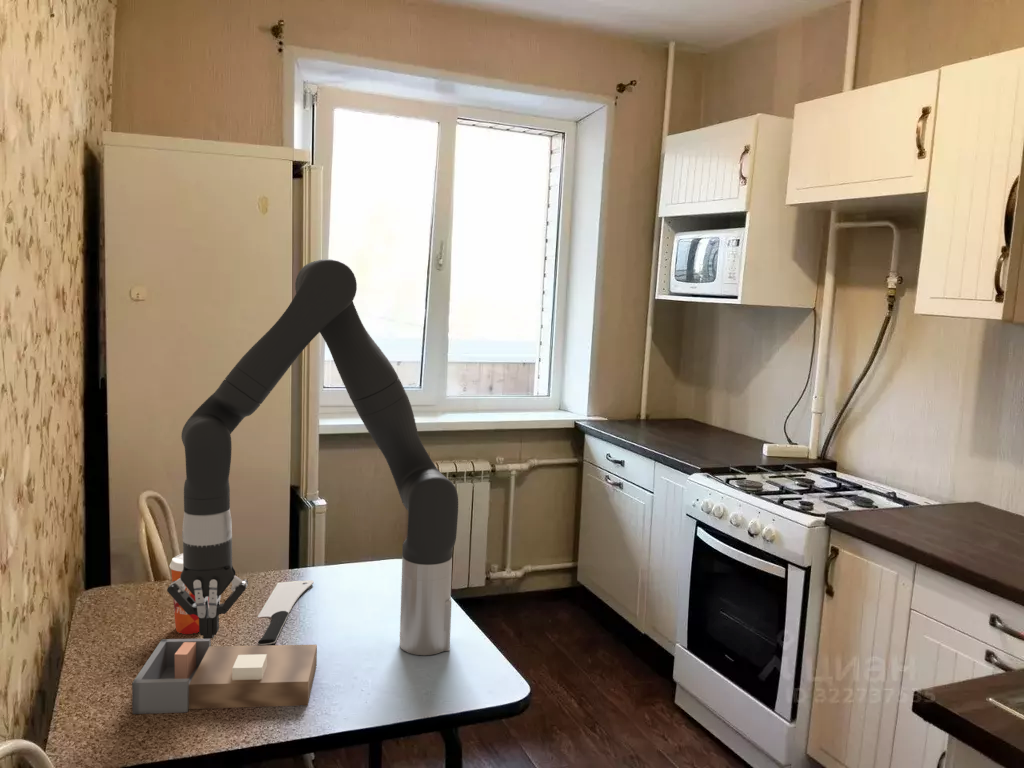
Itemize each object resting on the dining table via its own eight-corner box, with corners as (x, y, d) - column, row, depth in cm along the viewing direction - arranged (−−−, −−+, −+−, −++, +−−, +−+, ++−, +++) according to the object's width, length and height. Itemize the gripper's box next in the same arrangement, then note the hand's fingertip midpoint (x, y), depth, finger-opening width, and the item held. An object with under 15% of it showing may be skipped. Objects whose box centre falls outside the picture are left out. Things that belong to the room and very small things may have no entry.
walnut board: (316, 666, 137) (316, 644, 137) (307, 705, 124) (308, 681, 124) (209, 668, 134) (209, 646, 134) (189, 708, 122) (189, 684, 121)
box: (210, 665, 135) (210, 638, 135) (187, 712, 121) (187, 681, 120) (162, 667, 134) (161, 639, 134) (132, 713, 120) (132, 683, 119)
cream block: (266, 665, 128) (266, 654, 128) (261, 679, 124) (262, 667, 124) (238, 666, 128) (238, 654, 127) (232, 680, 123) (232, 668, 123)
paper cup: (160, 633, 147) (160, 561, 145) (187, 617, 154) (186, 548, 153) (197, 639, 145) (197, 566, 143) (222, 623, 152) (222, 553, 151)
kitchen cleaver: (269, 580, 174) (314, 576, 175) (270, 587, 174) (315, 583, 175) (225, 643, 143) (281, 638, 144) (227, 652, 143) (281, 647, 144)
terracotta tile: (196, 642, 133) (184, 642, 133) (186, 654, 129) (174, 654, 129) (196, 667, 134) (184, 667, 134) (187, 680, 129) (174, 680, 129)
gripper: (253, 528, 133) (254, 626, 135) (171, 529, 131) (173, 628, 133) (245, 543, 126) (245, 645, 128) (158, 544, 124) (160, 648, 126)
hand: (209, 636), depth 130 cm, fingers closed
